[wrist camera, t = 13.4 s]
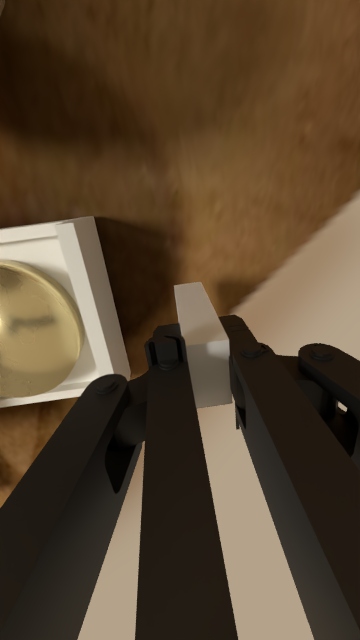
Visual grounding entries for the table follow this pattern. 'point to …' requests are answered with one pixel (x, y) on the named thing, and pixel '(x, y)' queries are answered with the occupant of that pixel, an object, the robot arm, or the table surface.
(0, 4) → the bowl
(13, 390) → the gold disc
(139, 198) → the table surface
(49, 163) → the table surface
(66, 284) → the tray
